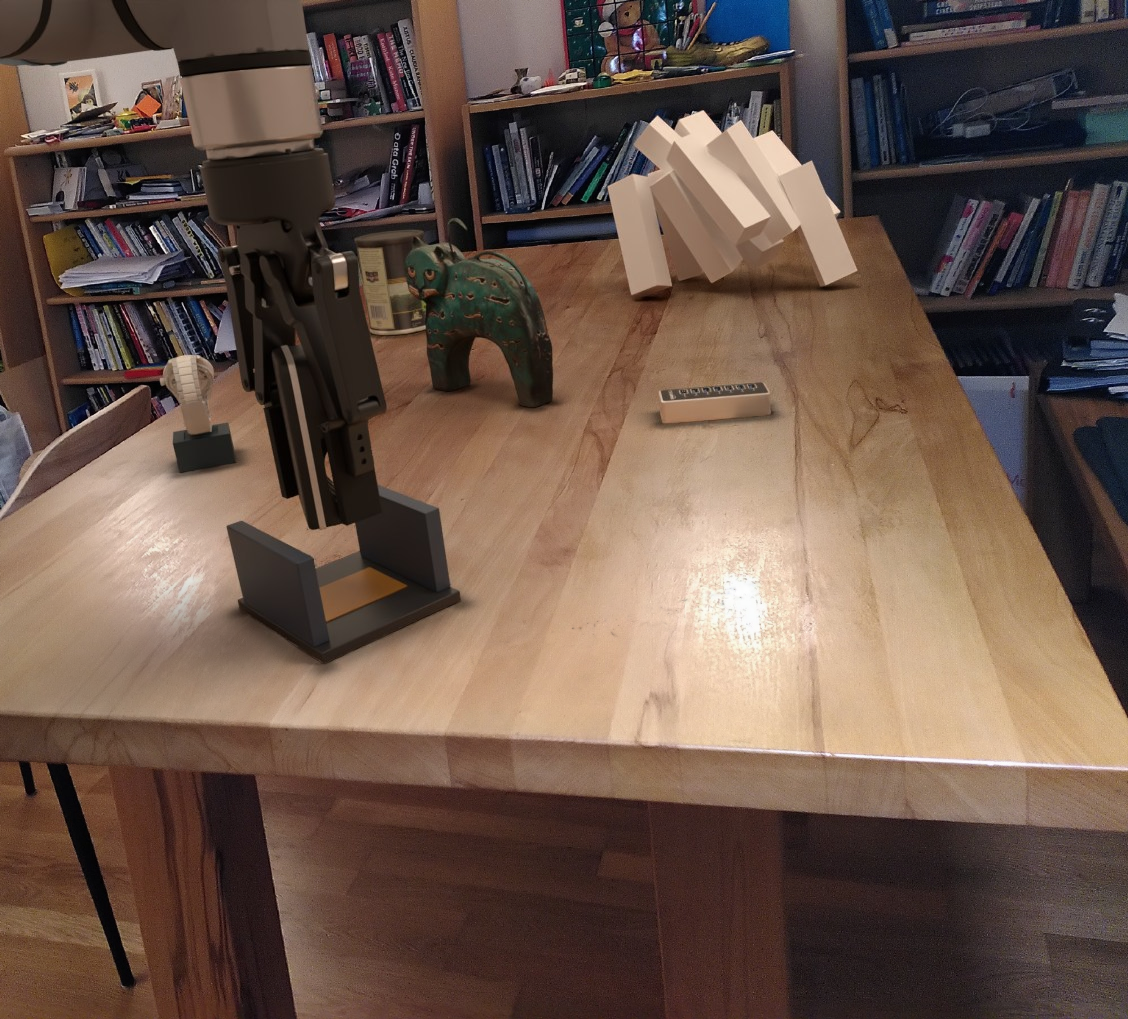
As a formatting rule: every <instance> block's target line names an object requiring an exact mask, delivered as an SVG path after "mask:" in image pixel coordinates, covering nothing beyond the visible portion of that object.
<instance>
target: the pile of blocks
mask: <svg viewBox="0 0 1128 1019" xmlns="http://www.w3.org/2000/svg"><path fill="white" fill-rule="evenodd" d="M632 145H633V146H634V147H635V148H636V149H637V150H638V151H640V153H642V154H643V155H644V156H645V157H646V159H648V160H649V161H651V162H652V163H653V164H654V165H655V166H656V167H657V168H658V169H657V170H655V171H652V172H649V173H647V176H646V175H641V174H636V173H631V174H629V175H628V176H626V177H623V178H621V179H619V180H618V181H615V182H613V183H611V184H609V185H608V186H607V192H608V196H609V200H610V206H611V209H612V214H613V219H614V223H615V227H616V232H617V236H618V241H619V246H620V250H621V255H622V260H623V264H624V268H625V273H626V278H627V282H628V286H629V292H630V296H638V297H639V296H641V297H647V296H650V295H653V294H655V293H658V292H660V291H663V290H665V289H668V288H671V287H673V283H672V278H671V273H670V270H669V265H668V261H667V256H666V252H665V247H664V242H663V238H664V240H665V243H666V246H667V249H668V252H669V255H670V258H671V262H672V264H673V267H674V271H675V274H676V277H677V280H678V281H679V282H681V281H684V280H687V279H691V278H694V277H697V276H700V275H701V276H702V275H703V273H704V274H705V276H706V278H707V279H708V280H709V282H710V284H713V283H715V282H716V281H718V280H720V279H722V278H724V277H725V276H727V275H730V274H731V273H733V271H734V270H735V269H736V268H737V267H738V266H739V265H740V264H741V263H742V261H743V262H744V263H745V264H746V265H747V266H748V267H749V268H751V269H752V270H753V271H754V272H755V271H757V270H759V269H761V268H763V267H765V266H766V265H769V264H771V263H772V262H774V261H776V260H777V258H778V256H779V253H780V251H781V249H782V247H783V245H784V241H785V240H784V238H786V237H787V236H788V235H790V234H792V233H793V232H794V231H796V232H797V235H798V237H799V239H800V242H801V244H802V247H803V249H804V252H805V254H806V256H807V258H808V260H809V263H810V266H811V268H812V270H813V273H814V275H815V277H816V279H817V282H818V284H819V287H820V288H821V287H825V286H827V285H830V284H832V283H834V282H836V281H838V280H841V279H843V278H844V277H847V276H850V275H851V274H853V273H856V272H858V268H857V266H856V263H855V261H854V258H853V256H852V253H851V252H850V248H849V247H848V244H847V242H846V239H845V237H844V234H843V231H842V229H841V227H840V225H839V221H838V220H837V218H838V216H839V215H840V213H841V210H840V209H839V208H838V207H837V206H836V204H835V203H834V202H833V200H831V198H830V197H829V195H827V193H826V190H825V188H824V186H823V184H822V181H821V179H820V176H819V174H818V171H817V169H816V166H815V164H814V162H813V160H809V161H808V162H805V163H804V164H801V163H800V161H799V160H798V159H797V158H796V157H795V155H794V154H793V153H792V151H790V149H789V148H788V147H787V146H786V145H785V143H784V142H783V141H782V139H780V137H779V136H778V135H777V134H776V133H775V131H774V130H770V131H768V132H765V133H763V134H760V135H758V136H755V137H753V136H752V135H751V133H750V131H749V129H748V128H747V127H746V125H745V124H744V122H743V121H742V119H740V120H738V121H737V122H735V123H734V124H733V125H731V126H730V127H728V128H727V129H725V130H724V131H723V132H722V130H720V129H719V128H718V126H717V124H715V122H714V121H713V120H712V119H711V118H710V117H709V116H708V114H707V113H706V111H705V110H700V111H698V112H695V113H693V114H690V115H688V116H685V117H683V118H680V119H678V120H677V123H676V125H675V127H674V129H673V128H672V127H671V126H670V125H668V123H667V122H665V121H664V120H663V119H662V118H661V117H660V116H659V115H656V117H654V118H653V119H652V120H651V122H649V124H647V126H646V128H645V129H644V130H643V131H642V133H641V134H640V135H638V137H637V139H635V141H634V142H633V144H632ZM660 227H661V229H660ZM661 232H662V233H661ZM662 234H663V238H662Z"/></svg>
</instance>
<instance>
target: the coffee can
mask: <svg viewBox="0 0 1128 1019" xmlns="http://www.w3.org/2000/svg"><path fill="white" fill-rule="evenodd" d="M413 236H416V237H418V238H419V239H420V240H421V241H422V242H424V243H425V238H424V237H425V231H424V230H421V229H399V230H397V229H396V230H388V231H381V232H373V233H368V234H364V235H360V236H358V237H355V238H354V243H355V245H356V251H357V259H358V265H359V269H360V270H359V271H360V275H361V276H360V277H361V281H362V288H363V294H364V300H365V306H366V311H367V318H368V325H369V333H370V334H372V335H375V336H376V335H377V336H397V335H398V336H399V335H406V334H407V335H408V334H413V333H419V332H423V331H426V327H425V315H426V303H425V302H424V301H422V300H419V299H417V298H416V297H414V296H413V295H412V294H411V293H410V292H409V289H408V284H407V281H406V273H405V260H406V258H407V256H408V254H409V253H410V252H411V251H412V246H413V243H412V241H413Z"/></svg>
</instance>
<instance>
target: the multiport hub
mask: <svg viewBox="0 0 1128 1019" xmlns="http://www.w3.org/2000/svg"><path fill="white" fill-rule="evenodd" d="M658 405H659V406H658V407H659V415H660V419H661V423H662V424H679V423H690V422H702V421H704V422H705V421H716V420H729V419H740V418H754V417H766V416H770V415H771V413H772V412H771V411H772V410H771V408H772V406H771V392H770V390H769V388H768V386H767V385H766V383H765V382H763V381H757V382H744V383H733V384H723V385H722V384H721V385H719V384H718V385H708V386H696V387H695V386H694V387H683V388H672V389H661V390H658Z"/></svg>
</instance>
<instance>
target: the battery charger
mask: <svg viewBox="0 0 1128 1019" xmlns="http://www.w3.org/2000/svg"><path fill="white" fill-rule="evenodd" d="M271 355H272V362H273V368H274V373H275V378H276V383H277V388H278V393H279V398H280V403H281V408H282V413H283V418H284V424H285V429H286V434H287V439H288V444H289V449H290V454H291V459H292V464H293V469H294V474H295V479H296V484H297V489H298V494H299V495H298V498H299V501H300V505H301V508H302V510H303V515H304V518H305V521H306V523H307V527H308V528H309V530H311V531H315V530H319V531H322V530H323V531H324V530H326V529H327V528H330V527H335V526H338V525H343V524H342V523H341V521H340V516H339V511H338V505H337V500H336V495H335V489H334V484H333V479H331V478H329V476H328V474H327V469H326V465H325V464H326V461H325V460H326V456H327V455H328V452H327V447H326V442H325V437H324V432H323V431H322V430H321V428H320V426H319V425H321V424H323V423H325V422H327V421H329V419H328V416H327V413H326V410H325V408H324V405H323V402H322V400H321V397H320V394H319V392H318V389H317V386H316V383H315V381H314V378H313V375H312V373H311V370H310V367H309V365H308V362H307V359H306V357H305V354H304V351H303V348H302V346H301V343H299V344H296V345H293V346H287V345H284V346H281V348H275V349H273V350H272V352H271Z"/></svg>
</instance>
